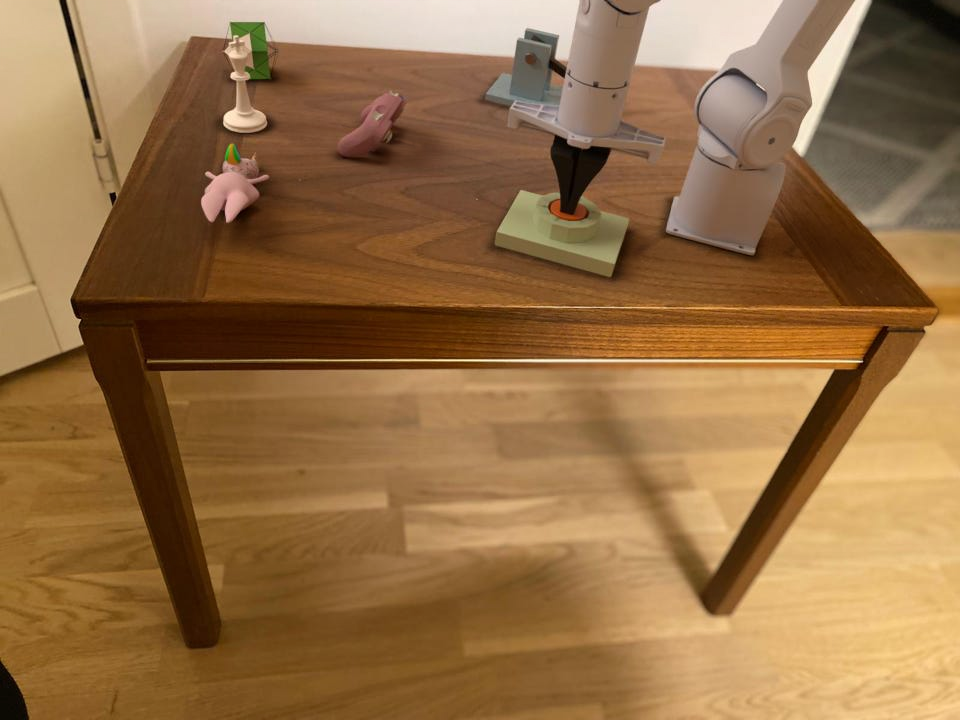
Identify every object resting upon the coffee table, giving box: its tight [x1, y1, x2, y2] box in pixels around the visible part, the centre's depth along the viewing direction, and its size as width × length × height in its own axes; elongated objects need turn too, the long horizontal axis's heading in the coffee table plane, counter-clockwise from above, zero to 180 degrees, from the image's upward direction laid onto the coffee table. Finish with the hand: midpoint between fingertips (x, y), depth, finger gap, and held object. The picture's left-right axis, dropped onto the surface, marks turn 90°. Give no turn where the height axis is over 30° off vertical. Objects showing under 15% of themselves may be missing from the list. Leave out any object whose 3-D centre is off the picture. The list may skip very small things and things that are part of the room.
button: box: [550, 200, 586, 221], centre depth 75 cm, size 4×4×2 cm
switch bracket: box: [484, 27, 563, 107], centre depth 98 cm, size 10×8×8 cm
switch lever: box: [530, 35, 567, 80], centre depth 97 cm, size 11×3×3 cm, turn 72°
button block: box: [494, 189, 630, 278], centre depth 76 cm, size 12×9×4 cm
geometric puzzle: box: [221, 21, 280, 80], centre depth 94 cm, size 7×7×8 cm
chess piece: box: [222, 35, 268, 134], centre depth 84 cm, size 5×5×10 cm
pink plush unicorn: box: [200, 143, 270, 224], centre depth 73 cm, size 6×6×15 cm
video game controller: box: [337, 89, 408, 158], centre depth 85 cm, size 10×5×7 cm, turn 168°
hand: (568, 209), depth 74 cm, fingers closed, pressing on button
